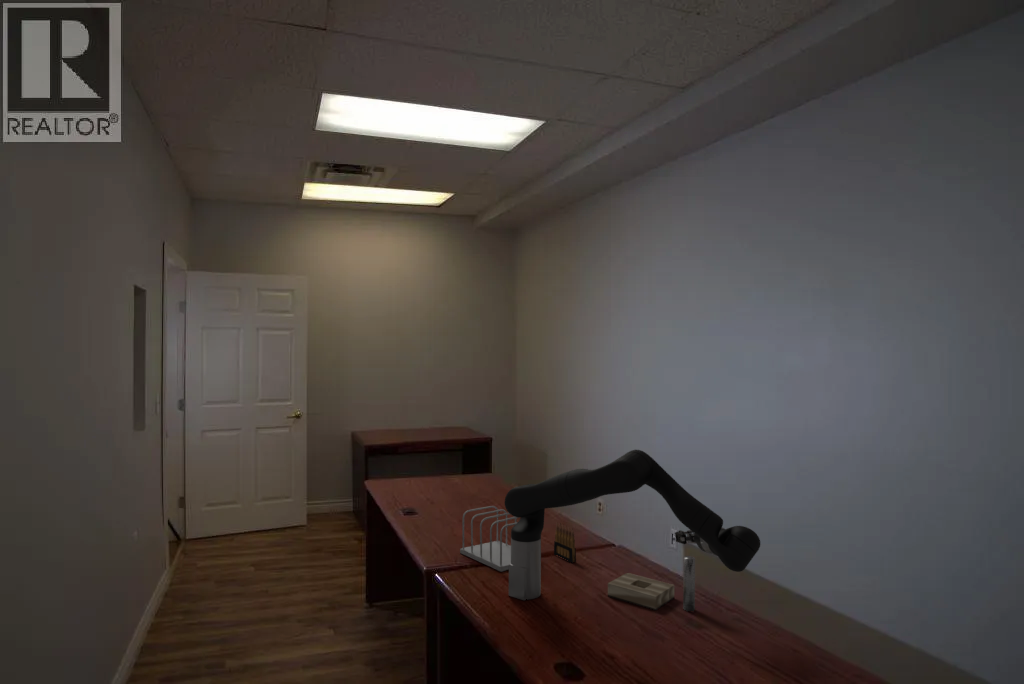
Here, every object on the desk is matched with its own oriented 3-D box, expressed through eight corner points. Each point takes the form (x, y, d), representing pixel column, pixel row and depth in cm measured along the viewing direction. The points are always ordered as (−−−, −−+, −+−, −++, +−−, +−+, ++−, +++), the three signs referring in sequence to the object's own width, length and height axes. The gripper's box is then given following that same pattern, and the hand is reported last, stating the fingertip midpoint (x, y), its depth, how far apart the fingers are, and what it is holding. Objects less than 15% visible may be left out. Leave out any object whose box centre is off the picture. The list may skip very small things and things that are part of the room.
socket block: (655, 610, 188) (655, 596, 188) (607, 596, 198) (607, 583, 198) (674, 598, 197) (674, 584, 197) (627, 585, 207) (627, 572, 207)
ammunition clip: (553, 554, 236) (553, 521, 236) (557, 554, 237) (557, 521, 237) (571, 563, 227) (572, 529, 227) (576, 562, 228) (576, 528, 228)
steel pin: (691, 612, 186) (692, 560, 186) (681, 609, 188) (681, 557, 188) (696, 609, 189) (696, 557, 189) (686, 606, 191) (686, 555, 191)
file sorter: (540, 562, 228) (540, 518, 228) (500, 573, 218) (500, 526, 218) (497, 544, 248) (498, 504, 248) (459, 553, 237) (459, 510, 237)
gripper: (739, 523, 173) (716, 517, 189) (686, 527, 172) (668, 521, 188) (742, 552, 172) (719, 544, 188) (689, 556, 171) (671, 548, 187)
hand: (694, 533), depth 188 cm, fingers open, 8 cm apart
